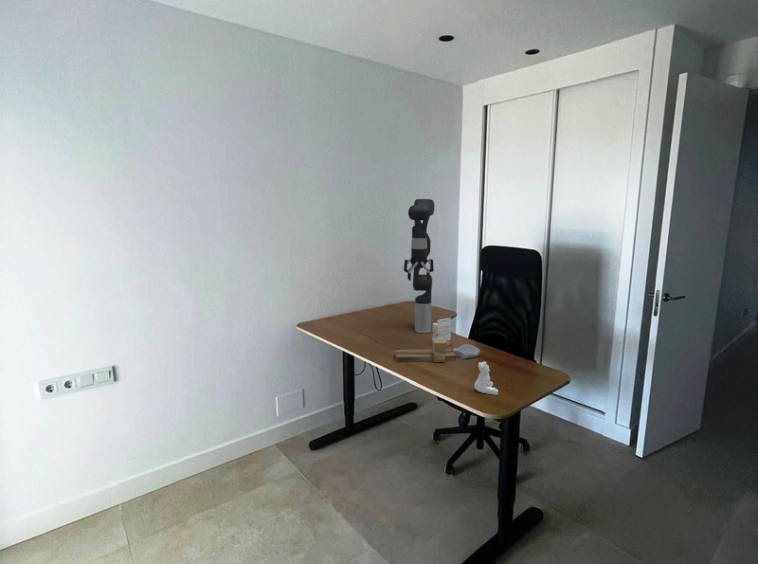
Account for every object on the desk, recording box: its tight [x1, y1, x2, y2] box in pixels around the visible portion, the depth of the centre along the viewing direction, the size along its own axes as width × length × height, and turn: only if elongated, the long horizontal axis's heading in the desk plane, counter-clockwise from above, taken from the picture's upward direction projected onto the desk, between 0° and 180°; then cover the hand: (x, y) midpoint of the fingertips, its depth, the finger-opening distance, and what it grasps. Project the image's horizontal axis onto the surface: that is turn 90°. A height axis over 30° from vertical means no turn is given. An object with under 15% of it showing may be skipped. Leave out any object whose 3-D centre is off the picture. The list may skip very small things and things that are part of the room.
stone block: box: [452, 343, 481, 360], centre depth 207 cm, size 12×5×10 cm
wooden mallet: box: [431, 338, 446, 363], centre depth 204 cm, size 15×5×9 cm, turn 4°
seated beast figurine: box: [473, 361, 499, 396], centre depth 167 cm, size 10×9×12 cm
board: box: [394, 348, 457, 363], centre depth 203 cm, size 10×28×2 cm, turn 94°
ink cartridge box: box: [432, 317, 452, 346], centre depth 221 cm, size 9×5×15 cm, turn 115°
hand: (418, 280), depth 207 cm, fingers open, 8 cm apart
